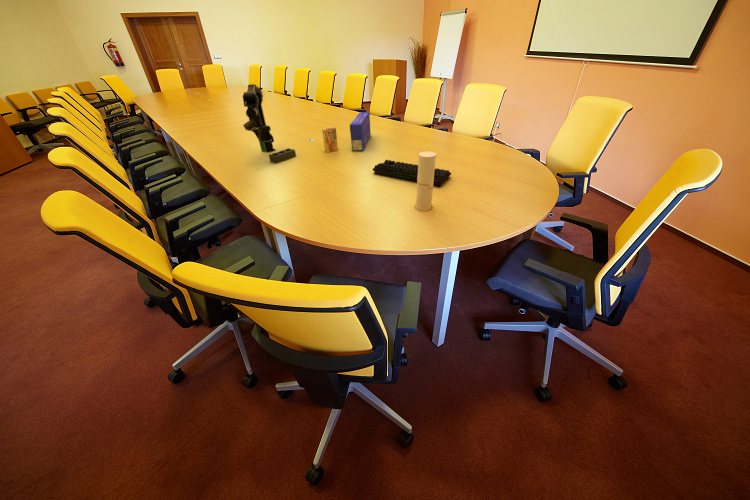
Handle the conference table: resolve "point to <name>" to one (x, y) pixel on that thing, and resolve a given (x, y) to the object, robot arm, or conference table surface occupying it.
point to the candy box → (330, 139)
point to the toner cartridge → (360, 131)
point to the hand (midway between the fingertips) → (261, 141)
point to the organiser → (282, 155)
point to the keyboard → (408, 172)
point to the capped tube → (262, 144)
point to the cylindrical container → (425, 180)
